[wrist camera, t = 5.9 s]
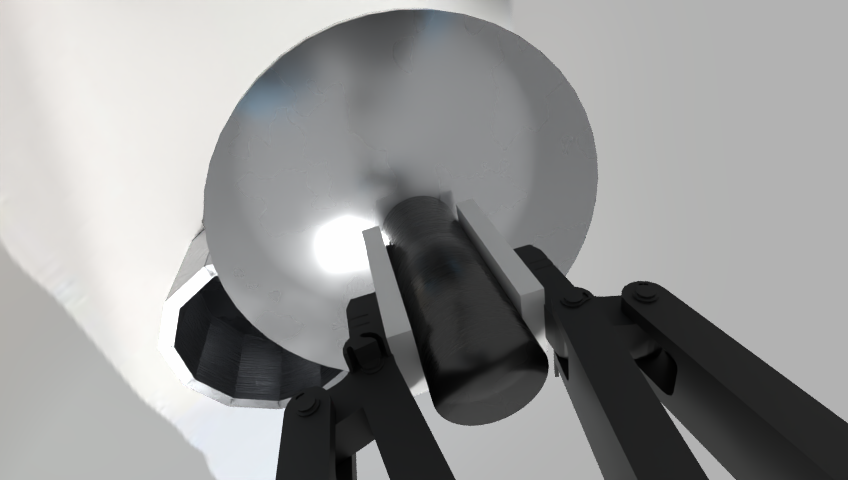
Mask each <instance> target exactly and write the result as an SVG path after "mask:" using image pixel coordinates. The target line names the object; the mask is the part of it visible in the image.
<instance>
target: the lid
mask: <svg viewBox="0 0 848 480" xmlns="http://www.w3.org/2000/svg"><path fill="white" fill-rule="evenodd" d="M597 171H598V170H597V153H596V148H595V143H594V137H593V132H592V130H591V126H590V124H589V121H588V118H587V115H586V112H585V110H584V108H583V106H582V104H581V102H580V100H579V98H578V96H577V94H576V92H575V90H574V89H573V88H572V86H571V85H570V83H569V82H568V81H567V79H566V78H565V77H564V75H563V74H562V72H561V71H560V70H559V69H558V68H557V67H556V66H555V65H554V64H553V63H552V62H551V61H550V60H549V59H548V58H547V57H546V56H545V55H544V54H543V53H542V52H541V51H540V50H538V49H537V48H535V47H534V46H533V45H531V44H530V43H528V42H527V41H525V40H524V39H523V38H521V37H520V36H518V35H516V34H514V33H512V32H510V31H508V30H506V29H504V28H502V27H500V26H498V25H496V24H494V23H491V22H488V21H485V20H481V19H478V18H475V17H472V16H468V15H465V14H460V13H453V12H447V11H440V10H433V9H391V10H385V11H379V12H372V13H366V14H362V15H359V16H356V17H353V18H350V19H347V20H344V21H340V22H337V23H334V24H332V25H330V26H328V27H326V28H324V29H322V30H320V31H318V32H316V33H314V34H312V35H310V36H308V37H306V38H305V39H303V40H302V41H300V42H299V43H297V44H296V45H295V46H293V47H292V48H290V49H289V50H287V51H286V52H284V53H283V54H282V55H280V56H279V57H278V58H277V59H276V60H275V61H274V62H273V63H272V64H271V65H270V66H269V67H268V68H266V69H265V70H264V71H263V72H262V73H261V74H260V75H259V76H258V77H257V78H256V80H255V81H254V82H253V84H252V85H251V86H250V87H249V89H248V90H247V91H246V92H245V94H244V95H243V96H242V98H241V99H240V100H239V102H238V104H237V105H236V107H235V109H234V111H233V113H232V114H231V116H230V118H229V120H228V121H227V123H226V125H225V127H224V128H223V130H222V132H221V134H220V136H219V139H218V142H217V144H216V147H215V150H214V152H213V155H212V158H211V160H210V164H209V169H208V174H207V179H206V184H205V189H204V214H203V217H204V225H205V234H206V242H207V245H208V249H209V252H210V256H211V259H212V263H213V266H214V268H215V270H216V272H217V275H218V277H219V279H220V281H221V283H222V285H223V287H224V289H225V291H226V292H227V294H228V295H229V297H230V298H231V300H232V301H233V303H234V304H235V306H236V307H237V308H238V309H239V310H240V311H241V313H242V314H243V315H244V316H245V317H246V318H247V319H248V320H249V321H250V323H251V324H252V325H254V326H255V327H256V328H257V329H258V330H259V331H261V332H262V333H263V334H264V335H265V336H267V337H268V338H269V339H271V340H272V341H274V342H275V343H277V344H278V345H280V346H282V347H283V348H285V349H286V350H288V351H290V352H292V353H294V354H296V355H298V356H301V357H303V358H305V359H307V360H310V361H313V362H316V363H319V364H322V365H324V366H328V367H332V368H337V369H341V370H346V371H349V368H348V366H347V364H346V361H345V359H344V356H343V347H344V345H345V342H346V341H347V340H348V339H349V338H350V337H349V329H348V321H347V314H346V309H347V306H348V304H349V301H350V299H353V298H357V297H360V296H363V295H366V294H370V293H373V292H375V287H374V283H373V279H372V275H371V270H370V266H369V262H368V258H367V253H366V249H365V245H364V241H363V236H362V232H361V231H362V230H365V229H368V228H372V227H375V226H379V228H380V231H381V234H382V237H383V240H384V244H385V247H386V250H387V253H388V256H389V259H390V263H391V266H392V269H393V272H394V275H395V278H396V282H397V285H398V288H399V291H400V294H401V298H402V301H403V304H404V307H405V310H406V313H407V317H408V320H409V323H410V326H411V329H412V333H413V336H414V340H415V343H416V347H417V350H418V354H419V358H420V363H421V366H422V369H423V373H424V376H425V379H426V382H427V385H428V389H429V392H430V395H431V398H432V401H433V404H434V407H435V409H436V410H437V412H438V413H439V414H440V415H441V416H442V417H443V418H444V419H446V420H448V421H450V422H452V423H456V424H460V425H468V426H474V425H483V424H488V423H493V422H496V421H499V420H501V419H504V418H506V417H508V416H510V415H512V414H514V413H516V412H517V411H519V410H520V409H522V408H523V407H524V406H525V405H527V404H528V403H529V402H530V401H531V400H532V399H533V398H534V397H535V396H536V395H537V394H538V393H539V391H540V390H541V388H542V387H543V385H544V383H545V380H546V378H547V375H548V368H549V365H548V359H547V356H546V354H545V352H544V350H543V349H542V347H541V346H540V344H539V343H538V341H537V340H536V338H535V337H534V335H533V334H532V332H531V331H530V329H529V327H528V326H527V324H526V323H525V321H524V320H523V318H522V317H521V315H520V314H519V312H518V311H517V309H516V308H515V306H514V305H513V303H512V302H511V300H510V299H509V297H508V296H507V294H506V293H505V291H504V290H503V288H502V287H501V285H500V284H499V282H498V281H497V279H496V277H495V276H494V274H493V273H492V271H491V270H490V268H489V267H488V265H487V264H486V262H485V261H484V259H483V258H482V256H481V255H480V253H479V252H478V250H477V249H476V247H475V246H474V244H473V243H472V241H471V240H470V238H469V237H468V235H467V234H466V232H465V231H464V229H463V227H462V226H461V224H460V223H459V221H458V215H457V209H456V203H459V202H462V201H466V200H469V199H473V200H474V201H475V202H476V204H477V205H478V206H479V207H480V209H481V210H482V211H483V212H484V214H485V215H486V216H487V217H488V219H489V220H490V221H491V222H492V224H493V225H494V226H495V227H496V229H497V230H498V231H499V232H500V234H501V235H502V236H503V237H504V239H505V240H506V241H507V242H508V244H509V245H510V246H511V247H512V249H515V248H518V247H522V246H525V245H528V244H530V245H532V246H534V247H536V248H539V249H541V250H542V251H543V253H544V254H545V255H546V256H547V257H548V259H550V260H551V261H552V262H553V264H554V265H555V266H556V267H557V268H558V269H559V270H560V271H561V272H562V274H563V275H564V276H566V274H567V273H568V271H569V269H570V268H571V266H572V264H573V263H574V261H575V259H576V257H577V255H578V253H579V251H580V249H581V247H582V245H583V243H584V240H585V238H586V235H587V232H588V229H589V226H590V223H591V220H592V215H593V211H594V206H595V202H596V193H597V182H598V172H597Z"/></svg>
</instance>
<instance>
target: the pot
mask: <svg viewBox="0 0 848 480" xmlns="http://www.w3.org/2000/svg"><path fill="white" fill-rule="evenodd" d="M202 223H203V225H204V217H203V220H202ZM204 227H205V225H204ZM158 348H159V350H160V351H161V353H162V354H163V356H164V357H165V359H166V360H167V362H168V363H169V365H170V366H171V368H172V369H173V370H174V372H175V373H176V375H177V376H178V378H179V379H180V381H181V382H182V384H183V385H184V386H186V387H188V388H190V389H192V390H195V391H197V392H199V393H201V394H203V395H205V396H207V397H210V398H212V399H214V400H216V401H218V402H220V403H222V404H225V405H227V406H230V407H249V408H269V409H282V408H285V407H286V406H287V403H288V402H289V401H290V399H291V398H292V397H293V396H294V395H295V394H297V393H298V392H299V391H301V390H303V389H306V388H308V387H315V386H318V387H322V388H324V389H325V390H328V389H329V388H331V387H332V386H334V385H336V384H337V383H338V382H340V381H341V380H342V379H343V378H344V377H345V376H346V375H347V374H348V372H349V371H346V370H341V369H337V368H332V367H328V366H324V365H322V364H319V363H316V362H313V361H310V360H307V359H305V358H303V357H301V356H298V355H296V354H294V353H292V352H290V351H288V350H286V349H285V348H283V347H282V346H280V345H278V344H277V343H275V342H274V341H272V340H271V339H269V338H268V337H267V336H265V335H264V334H263V333H262V332H261V331H259V330H258V329H257V328H256V327H255V326H254V325H252V324H251V323H250V321H249V320H248V319H247V318H246V317H245V316H244V315H243V314H242V313H241V311H240V310H239V309H238V308H237V307H236V306H235V304H234V303H233V301H232V300H231V298H230V297H229V295H228V294H227V292H226V291H225V289H224V287H223V285H222V283H221V281H220V279H219V277H218V275H217V272H216V270H215V268H214V266H213V263H212V259H211V256H210V252H209V249H208V245H207V242H206V234H205V229H204V230H203V231H202V232H201V233H200V234H199V235H198V236H197V237H196V238H195V239H194V240H193V241H192V242H191V244H190V246H189V249H188V251H187V253H186V255H185V258H184V260H183V262H182V265H181V267H180V269H179V271H178V274H177V276H176V278H175V281H174V283H173V285H172V287H171V290H170V292H169V294H168V297H167V299H166V301H165V303H164V310H163V317H162V325H161V332H160V340H159V347H158Z"/></svg>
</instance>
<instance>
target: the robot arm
mask: <svg viewBox="0 0 848 480" xmlns="http://www.w3.org/2000/svg"><path fill="white" fill-rule="evenodd" d="M456 209H457V215H458V221H459V223H460V224H461V226H462V227H463V229H464V231H465V232H466V234H467V235H468V237H469V238H470V240H471V241H472V243H473V244H474V246H475V247H476V249H477V250H478V252H479V253H480V255H481V256H482V258H483V259H484V261H485V262H486V264H487V265H488V267H489V268H490V270H491V271H492V273H493V274H494V276H495V277H496V279H497V281H498V282H499V284H500V285H501V287H502V288H503V290H504V291H505V293H506V294H507V296H508V297H509V299H510V300H511V302H512V303H513V305H514V306H515V308H516V309H517V311H518V312H519V314H520V315H521V317H522V318H523V320H524V321H525V323H526V324H527V326H528V327H529V329H530V331H531V332H532V334H533V335H534V337H535V338H536V340H537V341H538V343H539V344H540V346H541V347H542V349H543V350H544V352H547V340H548V342H549V343H550V345H551V346H552V348H553V349H554V370H555V377H559V373H560V375H561V377H562V380H563V382H564V384H565V387H566V389H567V392H568V394H569V396H570V399H571V401H572V404H573V406H574V408H575V411H576V413H577V415H578V418H579V420H580V422H581V425H582V427H583V429H584V432H585V434H586V437H587V439H588V442H589V444H590V446H591V449H592V451H593V453H594V456H595V458H596V461H597V463H598V465H599V468H600V470H601V473H602V475H603V477H604V480H709V479H708V478H707V476H706V474H705V473H704V471H703V469H702V468H701V466H700V465H699V463H698V461H697V460H696V458H695V457H694V455H693V453H692V452H691V450H690V449H689V447H688V445H687V444H686V442H685V441H684V439H683V437H682V436H681V434H680V433H679V431H678V429H677V428H676V426H675V425H674V423H673V421H672V420H671V418H670V417H669V415H668V414H667V412H666V410H665V409H664V407H663V405H664V406H665V407H666V408H667V409H668V410H669V411H670V412H671V413H672V414H673V415H674V416H675V417H676V418H677V419H678V420H679V421H680V422H681V423H682V424H683V425H684V426H685V427H686V428H687V429H688V430H689V431H690V433H691V434H692V435H693V436H694V437H695V438H696V439H697V440H698V441H699V442H700V443H701V444H702V445H703V446H704V447H705V448H706V449H707V450H708V451H709V452H710V453H711V454H712V455H713V456H714V457H715V458H716V459H717V460H718V462H720V463H721V465H722V466H723V467H724V468H725V469H726V470H727V471H728V472H729V473H730V474H731V475H732V476H733V477H734V478H735V479H736V480H848V423H847V422H845V421H844V420H843V419H841V418H840V417H838V416H837V415H836V414H834V413H833V412H832V411H830V410H829V409H828V408H826V407H825V406H824V405H822V404H821V403H820V402H818V401H817V400H816V399H814V398H813V397H811V396H810V395H809V394H807V393H806V392H805V391H803V390H802V389H800V388H799V387H798V386H797V385H795V384H794V383H792V382H791V381H790V380H788V379H787V378H786V377H784V376H783V375H782V374H780V373H779V372H778V371H776V370H775V369H773V368H772V367H771V366H769V365H768V364H767V363H765V362H764V361H763V360H761V359H760V358H759V357H757V356H756V355H754V354H753V353H752V352H750V351H749V350H748V349H746V348H745V347H743V346H742V345H741V344H739V343H738V342H737V341H735V340H734V339H733V338H731V337H730V336H729V335H727V334H726V333H725V332H723V331H722V330H721V329H719V328H718V327H716V326H715V325H714V324H712V323H711V322H710V321H708V320H707V319H706V318H704V317H703V316H701V315H700V314H699V313H697V312H696V311H695V310H693V309H692V308H691V307H689V306H688V305H687V304H685V303H684V302H683V301H681V300H680V299H678V298H677V297H676V296H674V295H673V294H672V293H670V292H669V291H668V290H666V289H665V288H663V287H661V286H660V285H658V284H656V283H652V282H648V281H645V282H644V281H637V282H633V283H630V284H628V285H627V286H625V287H624V288H623V290H622V295H621V296H608V297H596V296H593V295H592V293H590V292H589V291H588V290H585V289H583V288H579V287H574V286H573V285H572V284H571V282H570V281H569V280H568V279H567V278H566V277H565V276H564V275H563V274H562V272H561V271H560V270H559V269H558V268H557V267H556V266H555V265H554V264H553V262H552V261H551V260H550V259H548V257H547V256H546V255H545V254H544V253H543V251H542V250H541V249H539V248H536V247H534V246H532V245H530V244H528V245H525V246H522V247H518V248H515V249H512V247H511V246H510V245H509V244H508V242H507V241H506V240H505V239H504V237H503V236H502V235H501V234H500V232H499V231H498V230H497V229H496V227H495V226H494V225H493V224H492V222H491V221H490V220H489V219H488V217H487V216H486V215H485V214H484V212H483V211H482V210H481V209H480V207H479V206H478V205H477V204H476V202H475V201H474V200H473V199H469V200H466V201H462V202H459V203H456ZM361 232H362V236H363V241H364V245H365V249H366V253H367V258H368V262H369V266H370V270H371V275H372V279H373V283H374V287H375V292H373V293H370V294H366V295H363V296H360V297H357V298H353V299H350V301H349V304H348V306H347V309H346V314H347V321H348V329H349V337H350V338H349V339H348V340H347V341H346V342H345V345H344V347H343V356H344V359H345V361H346V364H347V366H348V368H349V372H348V374H347V375H346V376H345V377H344V378H343V379H342V380H341V381H340V382H338V383H337V384H336V385H334V386H332V387H331V388H329V389H328V390H325V389H324V388H322V387H318V386H315V387H308V388H306V389H303V390H301V391H299V392H298V393H297V394H295V395H294V396H293V397H292V398H291V399H290V401H289V402H288V403H287V406H286V408H285V411H284V418H283V426H282V434H281V442H280V450H279V458H278V465H277V473H276V480H357V470H356V452H357V451H359V450H360V449H362V448H363V447H365V446H366V445H367V444H369V443H370V442H371V441H373V440H376V443H377V446H378V448H379V451H380V454H381V457H382V459H383V462H384V464H385V467H386V470H387V473H388V475H389V478H390V480H456V479H455V478H454V476H453V474H452V472H451V470H450V468H449V466H448V464H447V462H446V460H445V458H444V456H443V454H442V452H441V450H440V448H439V446H438V444H437V442H436V440H435V439H434V436H433V435H432V433H431V431H430V429H429V427H428V425H427V423H426V421H425V419H424V417H423V415H422V413H421V411H420V409H419V407H418V405H417V403H416V401H415V399H414V397H413V396H415V395H418V394H421V393H424V392H427V391H429V389H428V386H427V382H426V379H425V376H424V373H423V369H422V366H421V363H420V358H419V354H418V350H417V347H416V343H415V340H414V336H413V333H412V329H411V326H410V323H409V320H408V317H407V313H406V310H405V307H404V304H403V301H402V298H401V294H400V291H399V288H398V285H397V282H396V278H395V275H394V272H393V269H392V266H391V263H390V259H389V256H388V253H387V250H386V247H385V244H384V240H383V237H382V234H381V231H380V228H379V226H375V227H372V228H368V229H365V230H362V231H361ZM661 403H662V404H663V405H662V404H661Z"/></svg>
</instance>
